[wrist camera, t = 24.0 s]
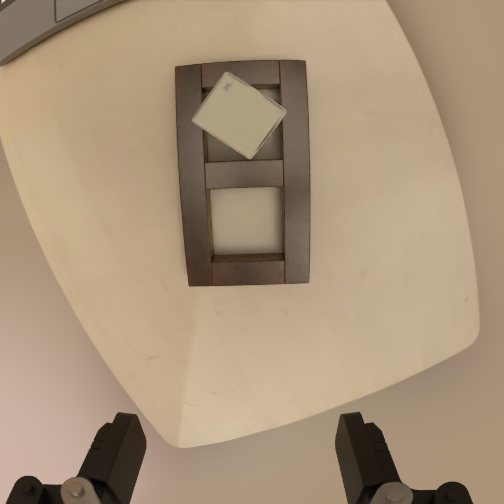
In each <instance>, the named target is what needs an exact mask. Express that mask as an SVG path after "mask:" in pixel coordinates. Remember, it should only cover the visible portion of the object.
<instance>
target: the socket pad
mask: <svg viewBox="0 0 504 504" xmlns="http://www.w3.org/2000/svg"><path fill="white" fill-rule="evenodd" d="M225 72H229V73H231V74H232V75H234V76H236V77H237V78H239V79H241V80H242V81H244V82H246V83H247V84H249V85H251V86H252V87H254V88H255V89H278V92H279V105H281V106H282V107H283V108H285V109H286V112H287V113H286V115H285V116H284V117H283V119H282V120H281V121H280V145H281V159H267V160H238V161H218V162H208V149H207V132H206V131H205V130H204V129H202V128H201V127H199V126H198V125H196V124H195V123H194V122H192V118H193V117H194V115H195V114H196V112H197V111H198V109H199V108H200V106H201V105H202V103H203V102H204V100H205V99H206V96H205V92H211V90H212V89H213V88H214V86H215V85H216V84H217V82H218V81H219V80H220V78H221V77H222V76H223V74H224V73H225ZM175 87H176V124H177V147H178V166H179V182H180V197H181V210H182V222H183V234H184V245H185V255H186V265H187V274H188V283H189V286H237V285H270V284H296V283H309V273H310V145H309V115H308V92H307V74H306V61H305V60H249V61H229V62H215V63H203V64H194V65H185V66H177V67H175ZM281 186H282V240H283V254H282V253H273V254H242V255H214V251H213V237H212V222H211V206H210V189H223V188H247V187H281Z"/></svg>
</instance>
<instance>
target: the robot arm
mask: <svg viewBox="0 0 504 504" xmlns="http://www.w3.org/2000/svg"><path fill="white" fill-rule="evenodd" d="M335 448H336V453H337V458H338V462H339V466H340V471H341V475H342V479H343V484H344V488H345V492H346V497H347V502H348V504H473V502H472V500H471V497H470V495H469V492H468V490H467V488H466V487H465V486H464V485H462V484H461V483H458V482H447V483H444V484H442V485H441V486H440V487H439V488H438V489H437V490H414V489H411V488H409V487H408V486H407V485H405V484H403V483H402V481H401V480H400V478H399V475H398V473H397V470H396V467H395V465H394V462H393V459H392V457H391V454H390V451H389V450H388V447H387V444H386V443H385V439H384V436H383V433H382V431H381V430H380V429H379V428H378V427H377V426H376V425H375V424H374V423H373V422H372V423H366V424H364V421H363V418H362V415H361V413H360V412H354V413H346V414H341V415H340V418H339V423H338V428H337V433H336V439H335ZM145 451H146V438H145V435H144V432H143V429H142V427H141V424H140V421H139V419H138V416H137V415H136V414H129V413H121V412H118V413H117V414H116V416H115V419H114V421H113V423H106V424H105V425H103V426H102V427H101V428H100V429H99V430H98V432H97V434H96V436H95V438H94V441H93V443H92V445H91V449H89V451H88V453H87V456H86V458H85V460H84V462H83V464H82V466H81V468H80V471H79V473H78V475H77V476H76V477H73V478H70V479H68V480H66V481H65V482H64V483H63V484H62V485H48V484H42V483H41V482H40V481H39V480H38V479H37V478H36V477H33V476H23V477H21V478H20V479H18V480H17V481H16V483H15V484H14V487H13V489H12V491H11V493H10V495H9V497H8V499H7V502H6V504H129V503H130V500H131V497H132V493H133V490H134V487H135V483H136V480H137V477H138V474H139V470H140V467H141V464H142V461H143V458H144V455H145Z"/></svg>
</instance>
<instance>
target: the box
mask: <svg viewBox="0 0 504 504" xmlns="http://www.w3.org/2000/svg"><path fill="white" fill-rule="evenodd" d="M286 113H287V112H286V109H285V108H283V107H282V106H281V105H279V104H278V103H276V102H275V101H274V100H272V99H271V98H269V97H268V96H266V95H265V94H263V93H261V92H260V91H258V90H257V89H255V88H254V87H252V86H251V85H249V84H247V83H246V82H244V81H242V80H241V79H239V78H237V77H236V76H234V75H232V74H231V73H229V72H225V73H224V74H223V76H222V77H221V78H220V80H219V81H218V82H217V84H216V85H215V86H214V88H213V89H212V90H211V92H210V93H209V94H208V96H207V97H206V99H205V100H204V102H203V103H202V105H201V106H200V108H199V109H198V111H197V112H196V114H195V115H194V117H193V118H192V122H194V123H195V124H196V125H198V126H199V127H201V128H202V129H204V130H205V131H206V132H208V133H209V134H211V135H212V136H214V137H215V138H217V139H218V140H220V141H222V142H223V143H225V144H226V145H228V146H229V147H231V148H232V149H234V150H235V151H237V152H239V153H240V154H242V155H243V156H245V157H246V158H248V159H252V158H253V157H254V155H255V154H256V153H257V151H258V150H259V149H260V148H261V146H262V145H263V144H264V143H265V141H266V140H267V139H268V137H269V136H270V135H271V134H272V132H273V131H274V130H275V128H276V127H277V126H278V124H279V123H280V121H281V120H282V119H283V117H284V116H285V115H286Z"/></svg>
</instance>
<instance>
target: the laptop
mask: <svg viewBox="0 0 504 504" xmlns="http://www.w3.org/2000/svg"><path fill="white" fill-rule="evenodd" d="M122 1H124V0H0V66H3V65H5V64H6V63H8V62H9V61H10V60H12V59H13V58H15V57H16V56H18V55H19V54H21V53H22V52H24V51H26V50H27V49H29V48H30V47H32V46H34V45H35V44H37V43H39V42H40V41H42V40H44V39H45V38H47V37H49V36H51V35H52V34H54V33H56V32H58V31H60V30H61V29H63V28H65V27H67V26H69V25H71V24H73V23H75V22H77V21H79V20H81V19H83V18H85V17H87V16H89V15H91V14H94V13H96V12H98V11H100V10H102V9H105V8H107V7H109V6H112V5H114V4H117V3H119V2H122Z"/></svg>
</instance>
